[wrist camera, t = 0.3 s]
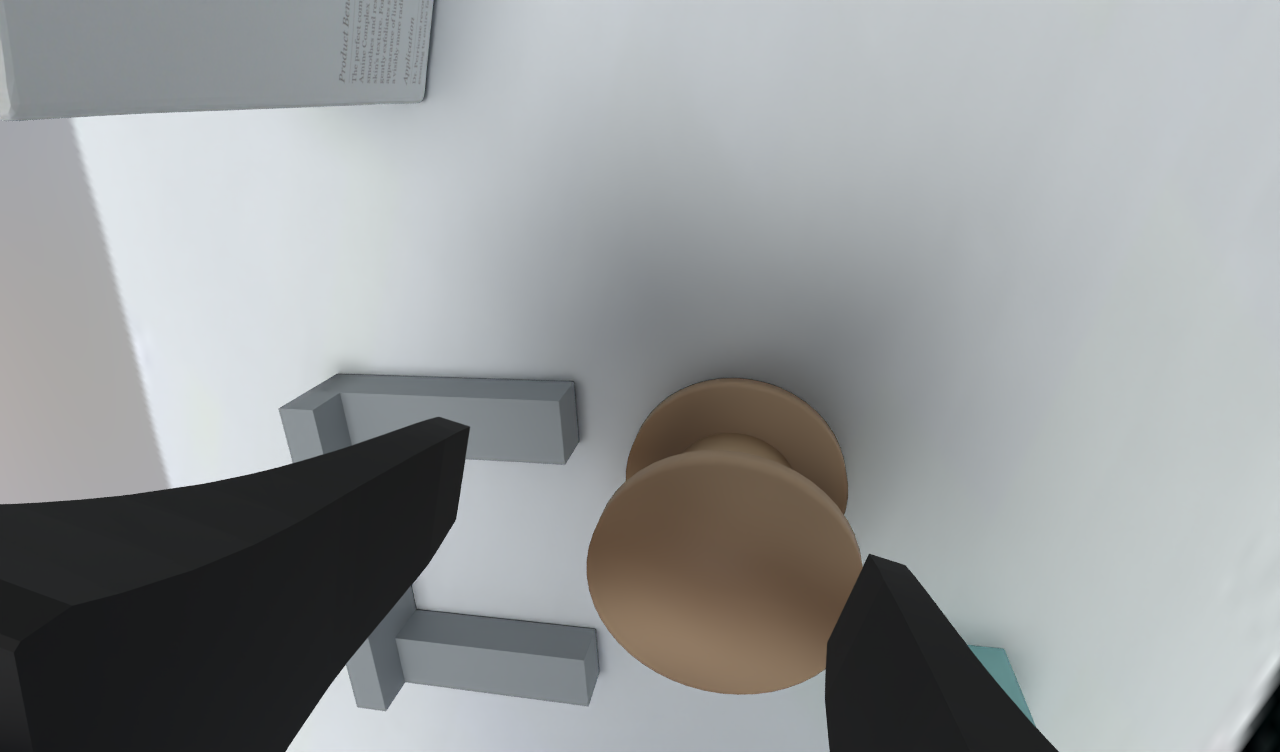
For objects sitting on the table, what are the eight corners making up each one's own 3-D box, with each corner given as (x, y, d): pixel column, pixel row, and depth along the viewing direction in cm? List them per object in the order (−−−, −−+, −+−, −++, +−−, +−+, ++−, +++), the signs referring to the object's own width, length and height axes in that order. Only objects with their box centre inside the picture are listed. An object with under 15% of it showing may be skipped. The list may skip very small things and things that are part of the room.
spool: (838, 573, 23) (855, 710, 17) (635, 556, 24) (595, 677, 19) (853, 381, 20) (877, 474, 15) (625, 374, 21) (576, 457, 16)
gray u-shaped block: (599, 673, 26) (577, 738, 24) (398, 648, 28) (357, 707, 25) (573, 381, 22) (543, 420, 19) (336, 374, 24) (278, 408, 21)
